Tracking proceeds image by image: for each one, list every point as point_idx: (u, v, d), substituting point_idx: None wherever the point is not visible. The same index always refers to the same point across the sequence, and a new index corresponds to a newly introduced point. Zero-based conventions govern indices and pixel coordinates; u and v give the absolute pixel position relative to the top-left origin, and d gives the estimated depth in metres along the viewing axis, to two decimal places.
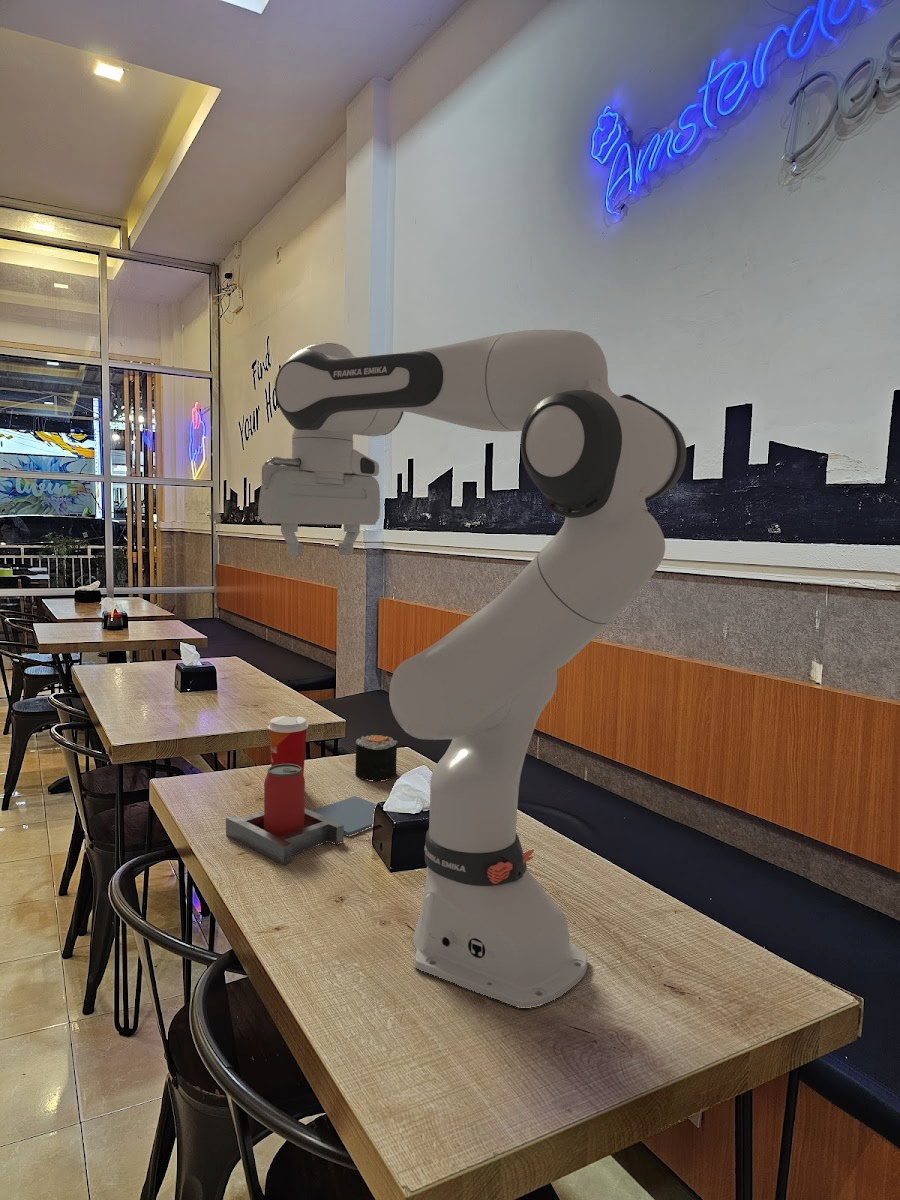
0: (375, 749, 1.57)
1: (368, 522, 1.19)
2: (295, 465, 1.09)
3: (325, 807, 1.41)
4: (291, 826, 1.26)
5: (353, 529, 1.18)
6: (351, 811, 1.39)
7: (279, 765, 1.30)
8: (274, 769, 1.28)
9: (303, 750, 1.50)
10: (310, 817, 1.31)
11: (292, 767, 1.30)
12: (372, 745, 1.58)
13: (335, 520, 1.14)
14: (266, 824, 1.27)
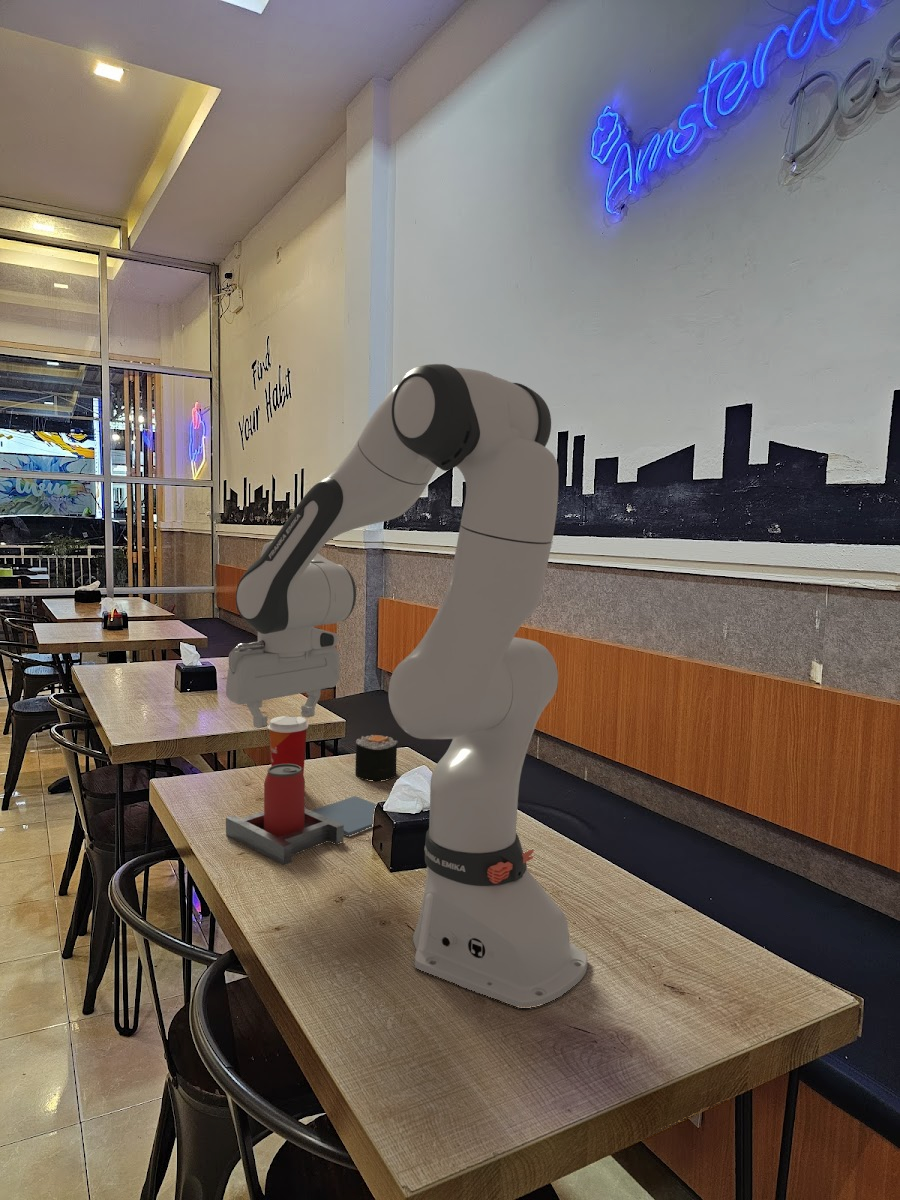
0: (375, 749, 1.57)
1: (328, 686, 1.31)
2: (259, 648, 1.21)
3: (325, 807, 1.41)
4: (291, 826, 1.26)
5: (314, 694, 1.30)
6: (351, 811, 1.39)
7: (279, 765, 1.30)
8: (274, 769, 1.28)
9: (303, 750, 1.50)
10: (310, 817, 1.31)
11: (292, 767, 1.30)
12: (372, 745, 1.58)
13: (297, 691, 1.26)
14: (266, 824, 1.27)
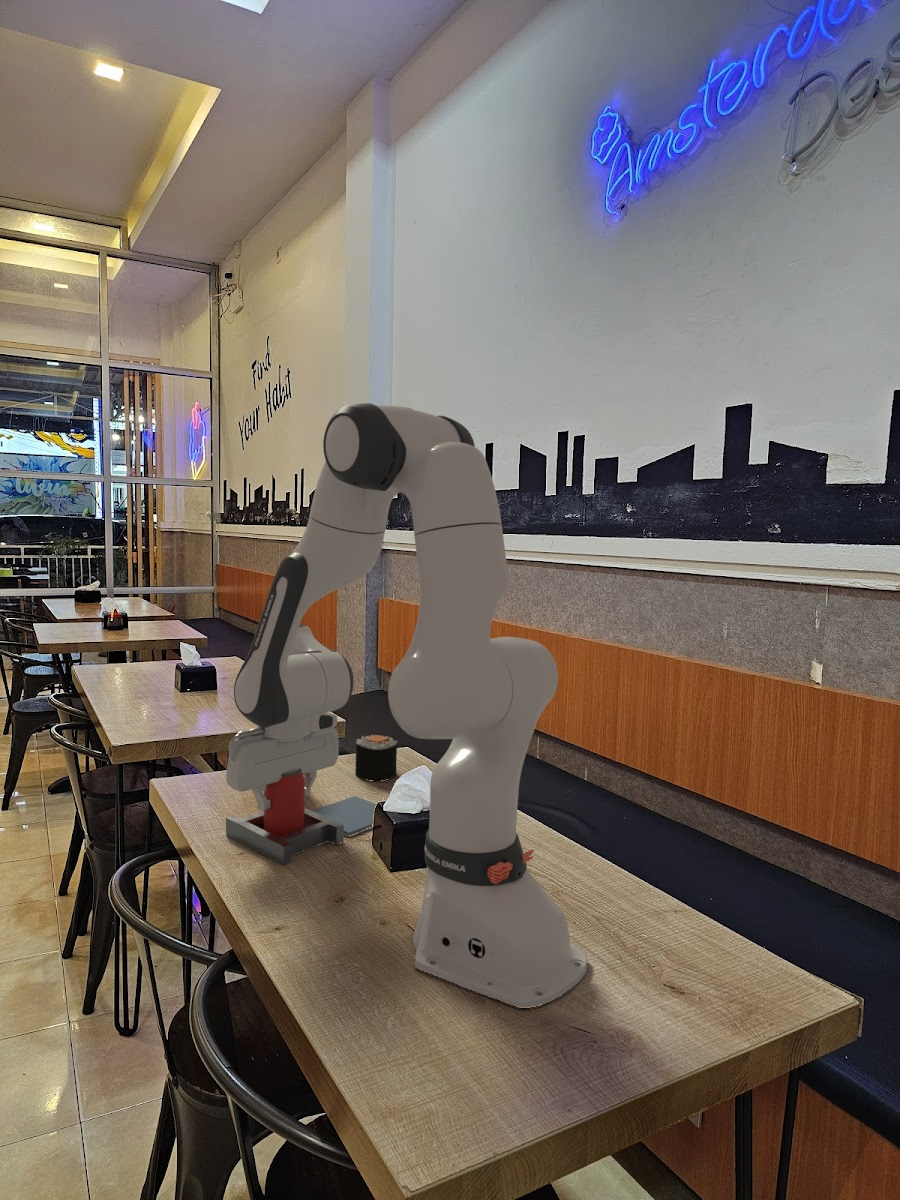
0: (375, 749, 1.57)
1: (327, 766, 1.32)
2: (259, 734, 1.23)
3: (325, 807, 1.41)
4: (291, 826, 1.26)
5: (310, 775, 1.31)
6: (351, 811, 1.39)
7: None
8: None
9: None
10: (310, 817, 1.31)
11: None
12: (372, 745, 1.58)
13: None
14: (266, 824, 1.27)
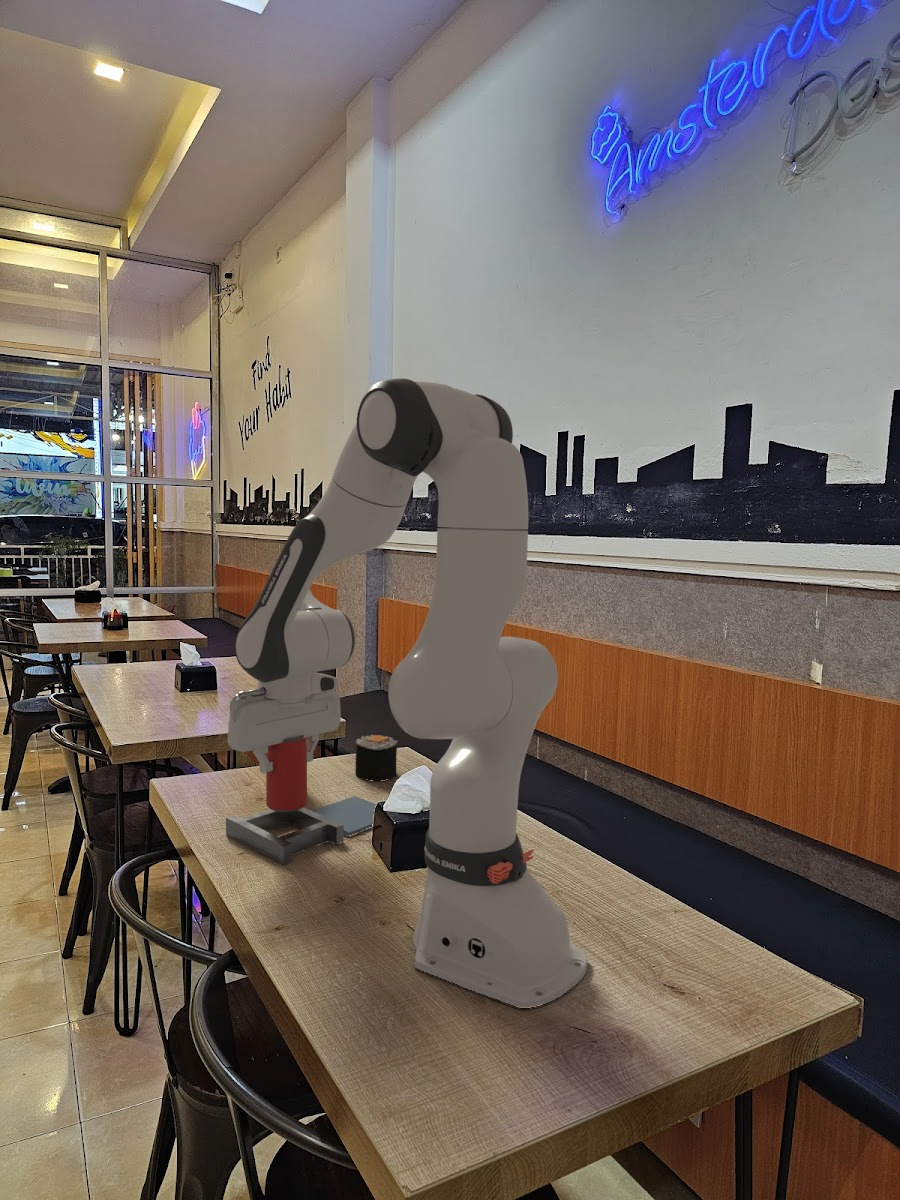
0: (375, 749, 1.57)
1: (330, 730, 1.31)
2: (260, 695, 1.22)
3: (325, 807, 1.41)
4: (294, 792, 1.25)
5: (312, 739, 1.30)
6: (351, 811, 1.39)
7: None
8: None
9: None
10: (310, 817, 1.31)
11: None
12: (372, 745, 1.58)
13: (298, 736, 1.26)
14: (268, 791, 1.25)
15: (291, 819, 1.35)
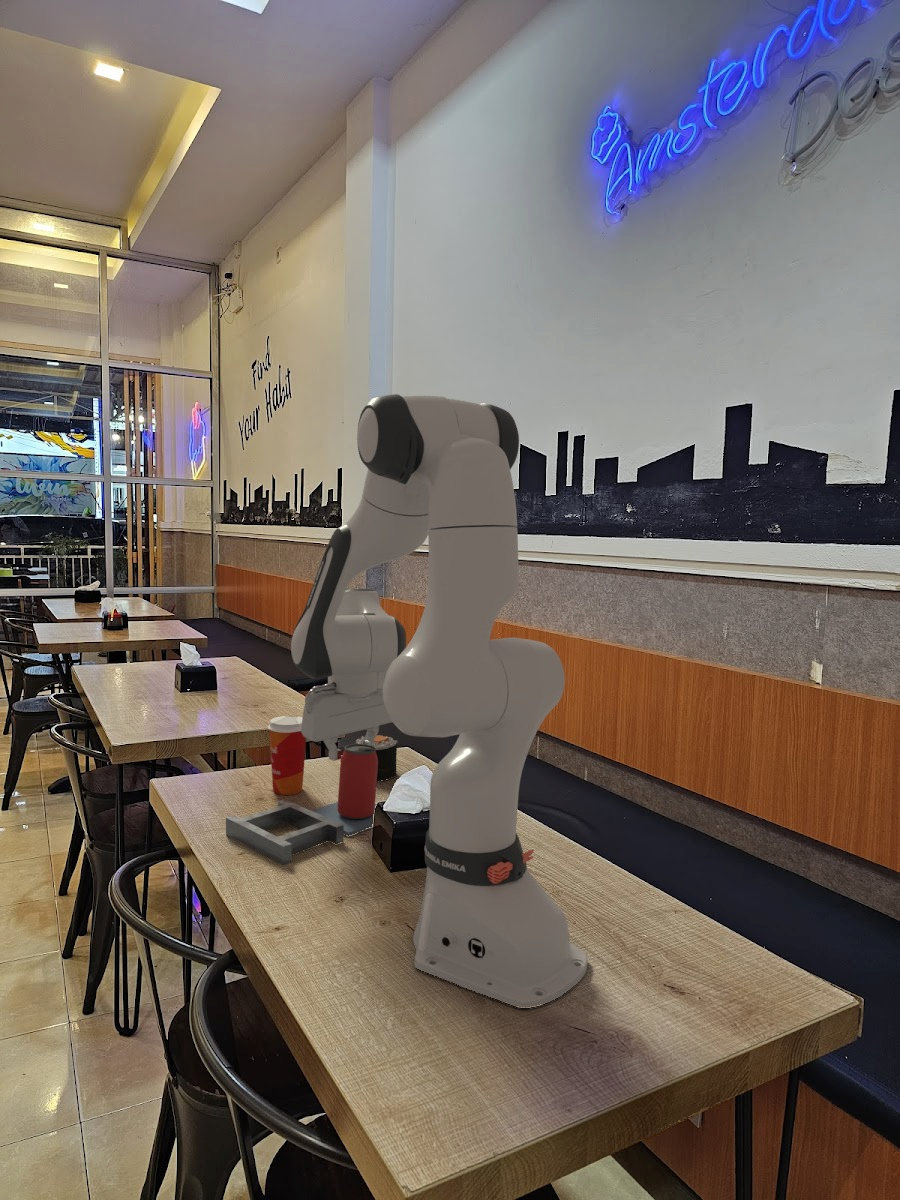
0: None
1: (389, 721, 1.42)
2: (331, 689, 1.32)
3: (325, 807, 1.41)
4: (366, 801, 1.35)
5: (373, 730, 1.40)
6: None
7: (353, 745, 1.39)
8: (349, 748, 1.37)
9: (303, 750, 1.50)
10: (310, 817, 1.31)
11: (365, 747, 1.39)
12: None
13: (363, 727, 1.37)
14: (342, 799, 1.35)
15: (291, 819, 1.35)
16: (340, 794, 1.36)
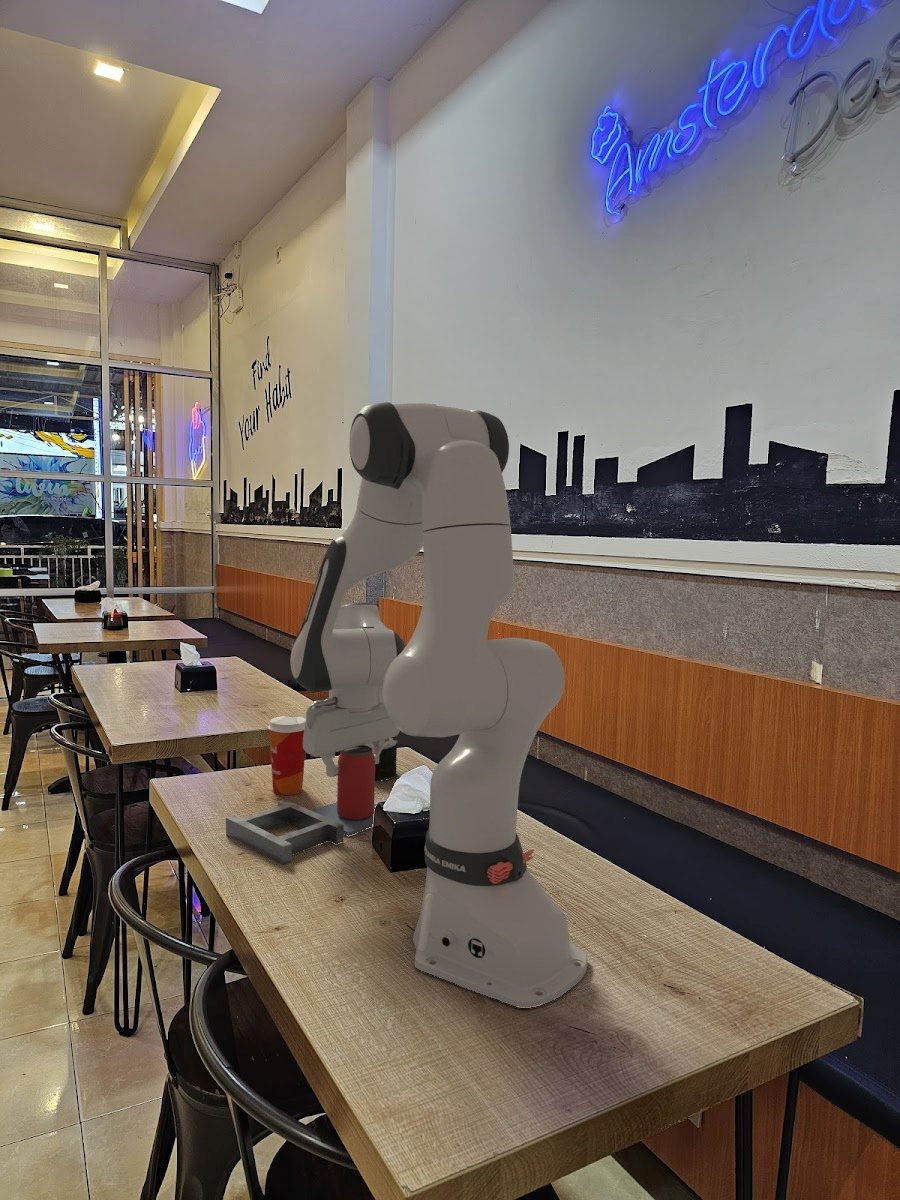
0: None
1: (391, 736, 1.42)
2: (333, 704, 1.32)
3: (325, 807, 1.41)
4: (365, 802, 1.35)
5: (379, 743, 1.41)
6: None
7: None
8: (346, 749, 1.37)
9: (303, 750, 1.50)
10: (310, 817, 1.31)
11: (362, 747, 1.39)
12: (372, 745, 1.58)
13: (365, 741, 1.37)
14: (341, 801, 1.35)
15: (291, 819, 1.35)
16: (339, 796, 1.36)
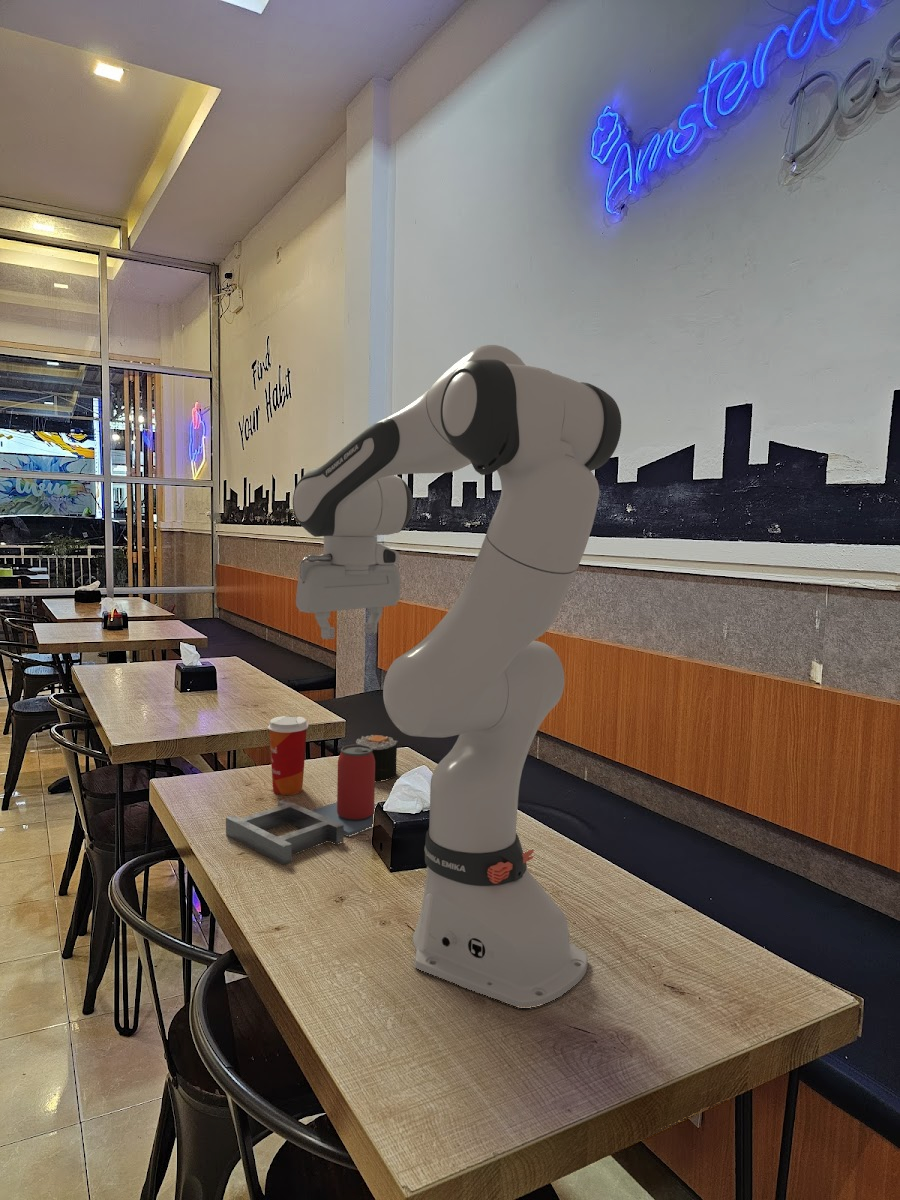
0: (375, 749, 1.57)
1: (390, 604, 1.35)
2: (327, 560, 1.25)
3: (325, 807, 1.41)
4: (365, 802, 1.35)
5: (377, 611, 1.33)
6: None
7: (349, 746, 1.39)
8: (346, 750, 1.37)
9: (303, 750, 1.50)
10: (310, 817, 1.31)
11: (362, 747, 1.39)
12: (372, 745, 1.58)
13: (362, 605, 1.30)
14: (341, 801, 1.35)
15: (291, 819, 1.35)
16: (339, 796, 1.36)
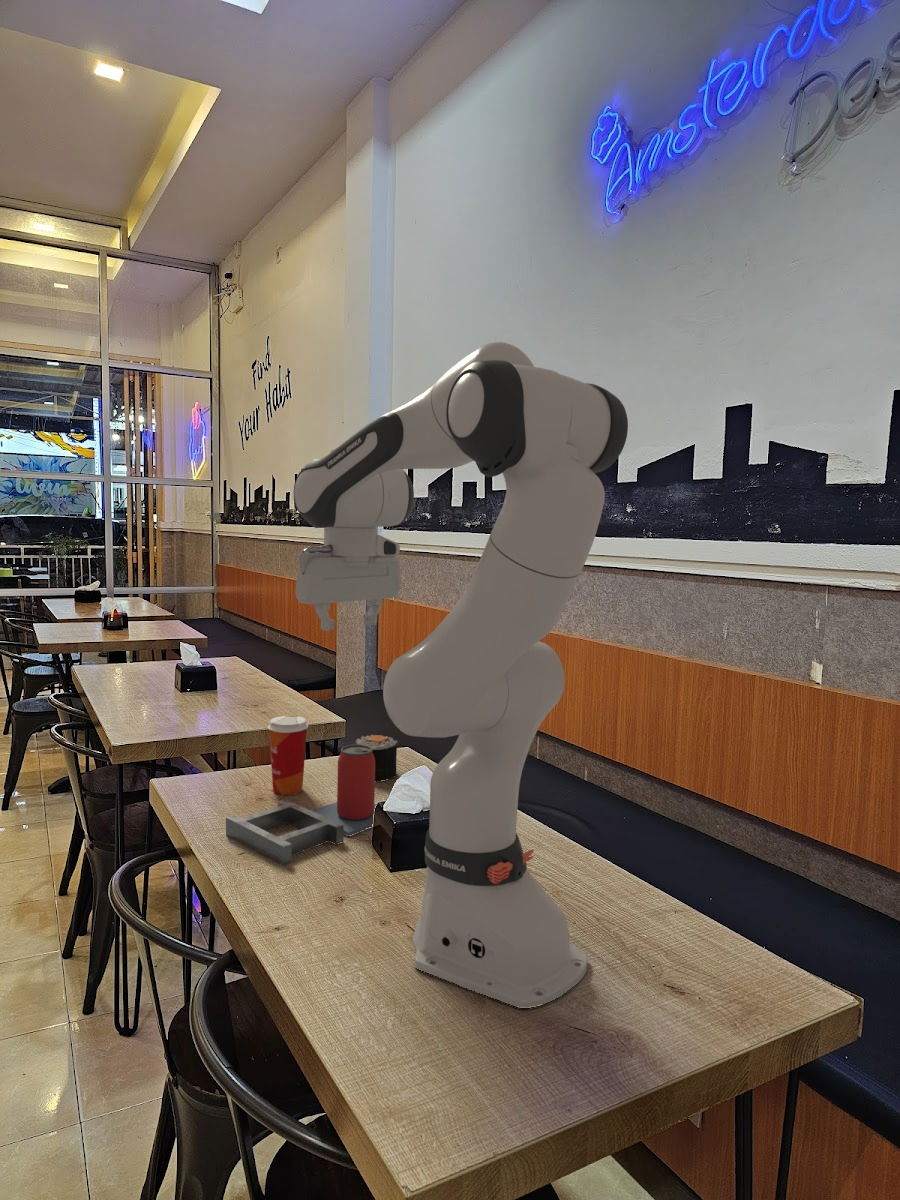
0: (375, 749, 1.57)
1: (390, 596, 1.34)
2: (327, 551, 1.24)
3: (325, 807, 1.41)
4: (365, 802, 1.35)
5: (377, 602, 1.33)
6: None
7: (349, 746, 1.39)
8: (346, 750, 1.37)
9: (303, 750, 1.50)
10: (310, 817, 1.31)
11: (362, 747, 1.39)
12: (372, 745, 1.58)
13: (361, 597, 1.29)
14: (341, 801, 1.35)
15: (291, 819, 1.35)
16: (339, 796, 1.36)
